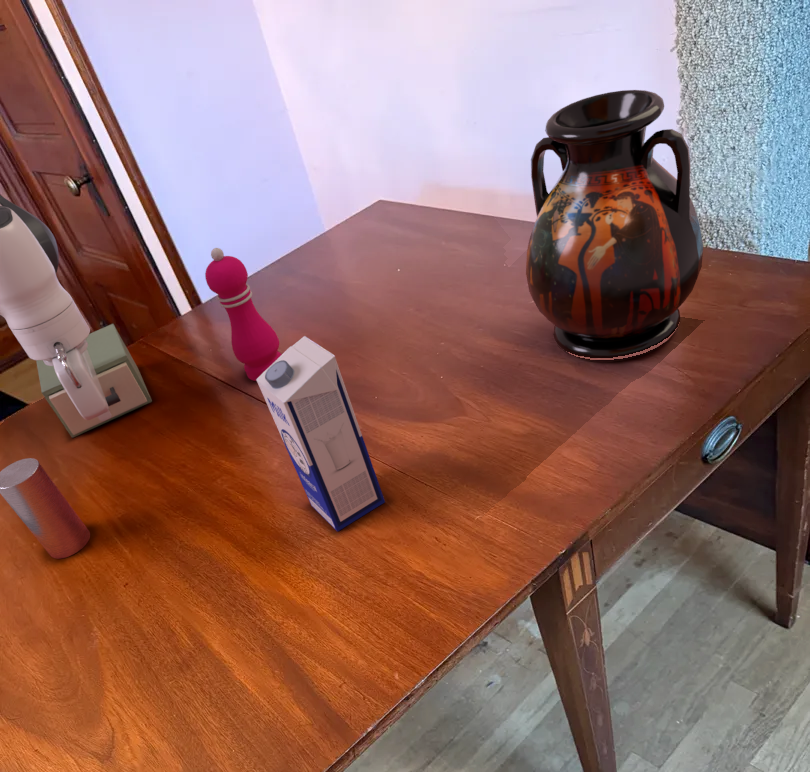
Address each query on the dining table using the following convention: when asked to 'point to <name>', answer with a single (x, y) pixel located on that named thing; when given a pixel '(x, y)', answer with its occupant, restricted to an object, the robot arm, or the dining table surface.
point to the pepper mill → (242, 314)
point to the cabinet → (95, 367)
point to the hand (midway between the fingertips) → (105, 415)
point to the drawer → (117, 392)
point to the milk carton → (321, 433)
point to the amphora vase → (612, 228)
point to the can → (43, 508)
